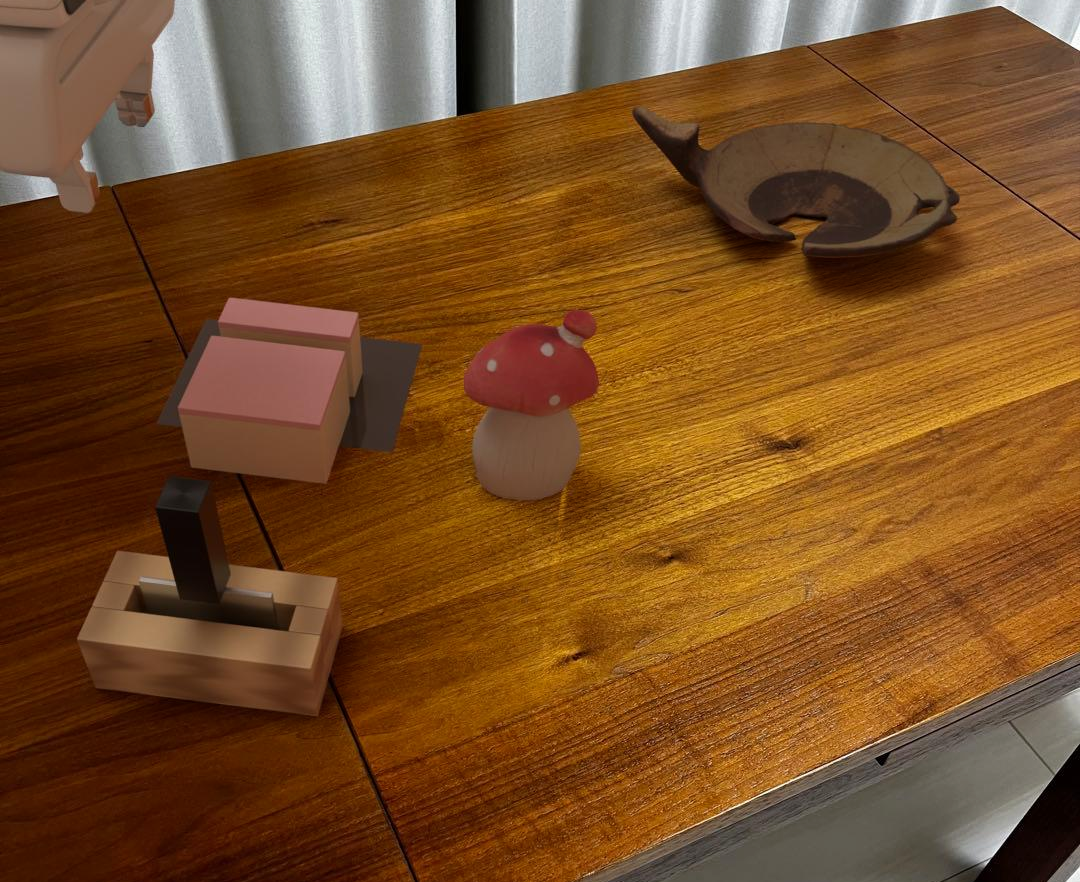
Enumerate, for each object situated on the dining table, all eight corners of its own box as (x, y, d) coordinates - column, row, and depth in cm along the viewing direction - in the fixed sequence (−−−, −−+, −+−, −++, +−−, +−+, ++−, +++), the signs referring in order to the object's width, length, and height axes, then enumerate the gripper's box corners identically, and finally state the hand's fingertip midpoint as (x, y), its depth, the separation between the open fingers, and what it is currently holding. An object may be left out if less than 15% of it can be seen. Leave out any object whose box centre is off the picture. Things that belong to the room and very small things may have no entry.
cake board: (134, 479, 87) (132, 471, 86) (207, 325, 99) (206, 318, 98) (378, 509, 86) (378, 501, 86) (422, 351, 98) (422, 343, 98)
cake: (191, 468, 87) (177, 407, 82) (222, 396, 92) (211, 335, 88) (326, 485, 87) (320, 424, 82) (350, 411, 92) (345, 350, 87)
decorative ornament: (587, 453, 91) (607, 294, 80) (585, 516, 87) (606, 357, 76) (466, 444, 91) (469, 283, 80) (458, 506, 87) (460, 346, 76)
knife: (154, 663, 75) (103, 500, 64) (166, 633, 77) (118, 469, 66) (279, 679, 75) (249, 518, 64) (288, 648, 77) (261, 486, 65)
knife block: (98, 696, 75) (75, 639, 70) (135, 609, 79) (117, 550, 75) (319, 724, 74) (310, 669, 70) (343, 635, 79) (337, 577, 74)
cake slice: (228, 382, 93) (217, 321, 89) (239, 358, 95) (229, 297, 91) (354, 397, 93) (350, 337, 88) (362, 372, 95) (358, 312, 90)
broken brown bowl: (869, 332, 103) (894, 258, 98) (595, 196, 115) (603, 123, 109) (980, 225, 116) (1008, 154, 110) (722, 112, 127) (735, 42, 121)
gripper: (69, -162, 68) (119, 71, 78) (-99, -4, 54) (-11, 253, 64) (179, -151, 67) (214, 81, 78) (38, 12, 54) (104, 266, 64)
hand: (111, 161), depth 71 cm, fingers open, 8 cm apart
